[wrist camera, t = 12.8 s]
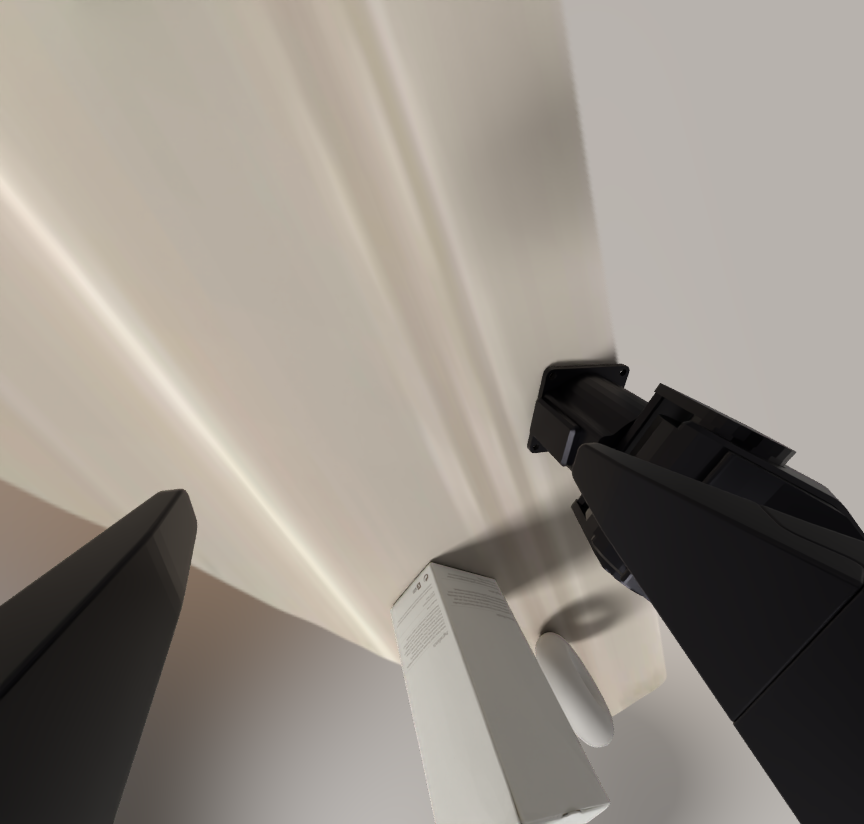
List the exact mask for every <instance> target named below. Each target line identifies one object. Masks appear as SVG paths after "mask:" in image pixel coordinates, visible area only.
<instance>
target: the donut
mask: <svg viewBox="0 0 864 824" xmlns="http://www.w3.org/2000/svg"><path fill="white" fill-rule="evenodd" d="M535 651H536V658H537V661H538V663H539V665H540V667H541V669H542V671H543V673H544V675H545V677H546V679H547V681H548V683H549V684H550V686H551V688H552V690H553V692H554V694H555V696H556V698H557V700H558V702H559V704H560V706H561V708H562V710H563V711H564V713H565V715H566V717H567V719H568V721H569V723H570V725H571V727H572V729H573V731H574V732H575V733H576V734H577V735H578V736H579V737H580V738H581V739H582V740H583V741H584V742H585V743H587V744H588V745H590V746H592V747H603V746H606V745H608V744H609V743H610V742H611V740H612V738H613V735H614V726H613V720H612V716H611V714H610V711H609V709H608V707H607V705H606V702H605V700H604V698H603V696H602V695H601V693H600V691H599V689H598V687H597V685H596V684H595V682H594V680H593V678H592V677H591V675H590V673H589V672H588V670H587V669H586V667H585V665H584V664H583V662H582V661H581V659H580V658H579V657H578V655H577V654H576V652H575V651H574V650H573V648H572V647H571V646H570V644H569V643H568V642H567V641H566V640H565V639H564V638H563V637H561V636H560V635H558V634H556V633H553V632H547V633H544V634H543V635H542V636H540V638H539V639H538V641H537V643H536V647H535Z"/></svg>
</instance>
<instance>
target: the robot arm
mask: <svg viewBox="0 0 864 824" xmlns="http://www.w3.org/2000/svg"><path fill="white" fill-rule="evenodd" d="M621 371H622V372H621ZM620 372H621V373H620ZM552 373H553V375H552V376H551V377H550V378H549V376H550V375H551V374H552ZM628 374H629V367H628V366H626V365H624V364H607V365H584V366H562V367H549V368H547V369H546V370H545V371H544V373H543V376H542V381H541V385H540V390H539V394H538V399H537V401H536V404H535V409H534V413H533V418H532V423H531V427H530V435H529V439H528V444H527V448H528V449H529V450H530V451H531V452H532V453H540V452H549V453H550V454H551V455H552V456H553V457H554V458H555V459H556V460H557V461H558V462H559V463H560V464H561V465H562V466H563V467H564V466H567V467H568V468H569V469H570V470H571V471H572V476H573V479H574V481H575V483H576V484H577V486H578V488H579V490H580V492H581V493H582V495H581V496H580V497H579V499H576V500H575V502H574V503H573V504H572V506H571V508H572V510H573V512H574V514H575V516H576V518H577V520H578V522H579V524H580V525H581V527H582V529H583V531H584V533H585V535H586V537H587V539H588V541H589V543H590V545H591V547H592V549H593V551H594V553H595V555H596V556H597V558H598V560H599V562H600V564H601V565H602V567H603V568H604V569H605V570H606V571H607V572H609V573H610V574H611V575H612V576H613V577H614V578H615V579H617V580H618V581H619V582H621V583H622V584H623V585H625V586H626V587H627V588H629V589H630V590H632V591H634V592H635V593H637V594H639V595H641V596H644V597H645V598H646V599H647V600H648V601H650V602H651V603H652V605H653V606H654V608H655V609H656V611H657V612H658V614H659V615H660V617H661V618H662V620H663V621H664V622H665V624H666V625H667V627H668V628H669V630H670V631H671V633H672V634H673V636H674V637H675V639H676V640H677V642H678V643H679V644H680V646H681V647H682V649H683V650H684V652H685V653H686V655H687V656H688V658H689V659H690V661H691V662H692V664H693V665H694V667H695V668H696V669H697V671H698V673H699V674H700V676H701V677H702V678H703V680H704V681H705V683H706V684H707V686H708V687H709V689H710V690H711V692H712V693H713V695H714V696H715V698H716V699H717V701H718V702H719V704H720V705H721V706H722V708H723V709H724V711H725V712H726V714H727V715H728V717H729V718H730V720H731V721H733V725H734V726H735V728H736V729H737V730H738V732H739V734H740V735H741V737H742V738H743V739H744V741H745V742H746V744H747V745H748V747H749V748H750V750H751V751H752V753H753V754H754V756H755V757H756V759H757V760H758V762H759V763H760V765H761V766H762V768H763V769H764V770H765V772H766V773H767V775H768V776H769V778H770V779H771V781H772V782H773V784H774V785H775V787H776V788H777V790H778V791H779V793H780V794H781V796H782V797H783V799H784V800H785V802H786V803H787V804H788V806H789V807H790V809H791V810H792V812H793V813H794V815H795V816H796V818H797V819H798V821H799V822H800V824H864V533H863V531H862V530H861V529H860V527H859V526H858V524H857V523H856V522H855V520H854V519H853V517H852V516H851V515H850V513H849V512H848V510H847V509H846V508H845V507H844V505H842V503H841V502H840V501H839V500H838V499H837V498H836V497H835V496H834V495H833V494H832V493H831V492H830V491H829V490H828V488H826V487H825V486H823V485H822V484H820V483H818V482H817V481H815V480H813V479H811V478H809V477H807V476H805V475H804V474H801V473H800V472H798V471H796V470H794V469H792V468H790V467H789V466H787V465H785V464H786V463H787V462H788V461H789V459H790V458H791V457H792V456H793V455H794V454H795V453H796V452H795V451H794V450H792V449H790V448H788V447H786V446H784V445H782V444H781V443H779V442H777V441H775V440H773V439H771V438H769V437H768V436H765V435H764V434H762V433H760V432H758V431H756V430H754V429H753V428H751V427H749V426H747V425H745V424H743V423H741V422H739V421H737V420H735V419H733V418H731V417H729V416H727V415H725V414H723V413H721V412H719V411H717V410H715V409H713V408H711V407H709V406H707V405H705V404H703V403H701V402H699V401H697V400H695V399H692V398H690V397H688V396H686V395H684V394H682V393H680V392H678V391H676V390H674V389H672V388H669V387H668V386H666V385H663V384H661V383H660V384H659V385H658V387H657V388H656V390H655V391H654V392H656V393H655V394H654V396H653V397H652V398H651V400H650V401H649V402H646V401H645V400H643V399H641V398H640V397H638V396H636V395H635V394H633V393H631V392H629V391H628V390H626V389H624V386H625V383H626V380H627V377H628ZM534 445H536V446H535V447H534ZM196 533H197V520H196V516H195V513H194V510H193V507H192V504H191V501H190V498H189V495H188V493H187V492H186V490H184V489H174V490H165V491H160V492H158V493H157V494H155V495H154V496H152V497H151V498H150V499H148V500H147V501H145V502H144V503H143V504H141V505H140V506H138V507H137V508H136V509H134V510H133V511H131V512H130V513H129V514H127V515H126V516H124V517H123V518H122V519H120V520H119V521H118V522H116V523H115V524H113V525H112V526H111V527H109V528H108V529H106V530H105V531H104V532H102V533H101V534H99V535H98V536H97V537H95V538H94V539H92V540H91V541H90V542H88V543H87V544H86V545H84V546H83V547H81V548H80V549H79V550H77V551H76V552H74V553H73V554H72V555H70V556H69V557H67V558H66V559H65V560H63V561H62V562H61V563H59V564H58V565H56V566H55V567H54V568H52V569H51V570H49V571H48V572H47V573H45V574H44V575H42V576H41V577H40V578H38V579H37V580H35V581H34V582H33V583H31V584H30V585H29V586H27V587H26V588H24V589H23V590H22V591H20V592H19V593H17V594H16V595H15V596H13V597H12V598H11V599H9V600H8V601H6V602H5V603H4V604H2V605H1V606H0V824H113V823H114V820H115V817H116V814H117V810H118V807H119V804H120V801H121V798H122V795H123V791H124V788H125V785H126V782H127V779H128V776H129V773H130V770H131V767H132V763H133V760H134V757H135V754H136V751H137V748H138V744H139V741H140V738H141V735H142V732H143V729H144V726H145V723H146V719H147V716H148V713H149V710H150V707H151V704H152V700H153V697H154V694H155V691H156V688H157V685H158V682H159V679H160V676H161V672H162V669H163V666H164V663H165V660H166V656H167V654H168V650H169V647H170V644H171V641H172V638H173V635H174V631H175V628H176V625H177V622H178V619H179V615H180V612H181V609H182V605H183V600H184V596H185V591H186V586H187V580H188V575H189V570H190V565H191V560H192V554H193V549H194V544H195V539H196Z"/></svg>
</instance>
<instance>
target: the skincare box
mask: <svg viewBox="0 0 864 824" xmlns="http://www.w3.org/2000/svg"><path fill="white" fill-rule="evenodd" d="M390 613H391V618H392V623H393V627H394V632H395V637H396V641H397V646H398V651H399V655H400V660H401V664H402V669H403V674H404V678H405V684H406V688H407V692H408V697H409V702H410V706H411V711H412V716H413V721H414V725H415V730H416V735H417V740H418V744H419V749H420V753H421V758H422V762H423V767H424V772H425V777H426V782H427V786H428V792H429V796H430V801H431V805H432V810H433V814H434V820H435V824H586V823H588V822H589V821H590V820H591V819H593V818H594V817H596V816H597V815H598V814H600V813H601V812H602V811H603V810H605V809H606V808H607V807H608V806H609V804H610V800H609V798H608V796H607V794H606V793H605V791H604V789H603V787H602V785H601V783H600V781H599V779H598V777H597V775H596V773H595V771H594V769H593V767H592V765H591V764H590V762H589V760H588V758H587V756H586V754H585V752H584V750H583V748H582V746H581V744H580V742H579V740H578V738H577V737H576V735H575V733H574V731H573V729H572V727H571V725H570V723H569V721H568V719H567V717H566V715H565V713H564V711H563V710H562V708H561V706H560V704H559V702H558V700H557V698H556V696H555V694H554V692H553V690H552V688H551V686H550V684H549V683H548V681H547V679H546V677H545V675H544V673H543V671H542V669H541V667H540V665H539V663H538V661H537V659H536V657H535V656H534V654H533V652H532V650H531V648H530V646H529V644H528V642H527V640H526V638H525V636H524V634H523V632H522V631H521V629H520V627H519V625H518V623H517V621H516V619H515V617H514V615H513V613H512V611H511V609H510V607H509V605H508V603H507V601H506V599H505V597H504V596H503V594H502V592H501V590H500V588H499V586H498V584H497V582H496V580H495V579H492V578H488V577H484V576H481V575H477V574H473V573H469V572H466V571H462V570H458V569H455V568H451V567H447V566H444V565H440V564H436V563H433V562H431V563H429V564H428V565H427V566H426V568H425V569H424V570H423V571H422V572H421V573H420V574H419V576H418V577H417V578H416V579H415V580H414V581H413V583H412V584H411V585H410V586H409V587H408V589H407V590H406V591H405V592H404V593H403V595H402V596H401V597H400V598H399V599H398V600H397V602H396V603H395V604H394V605H393V607H392V608H391V610H390Z"/></svg>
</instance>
